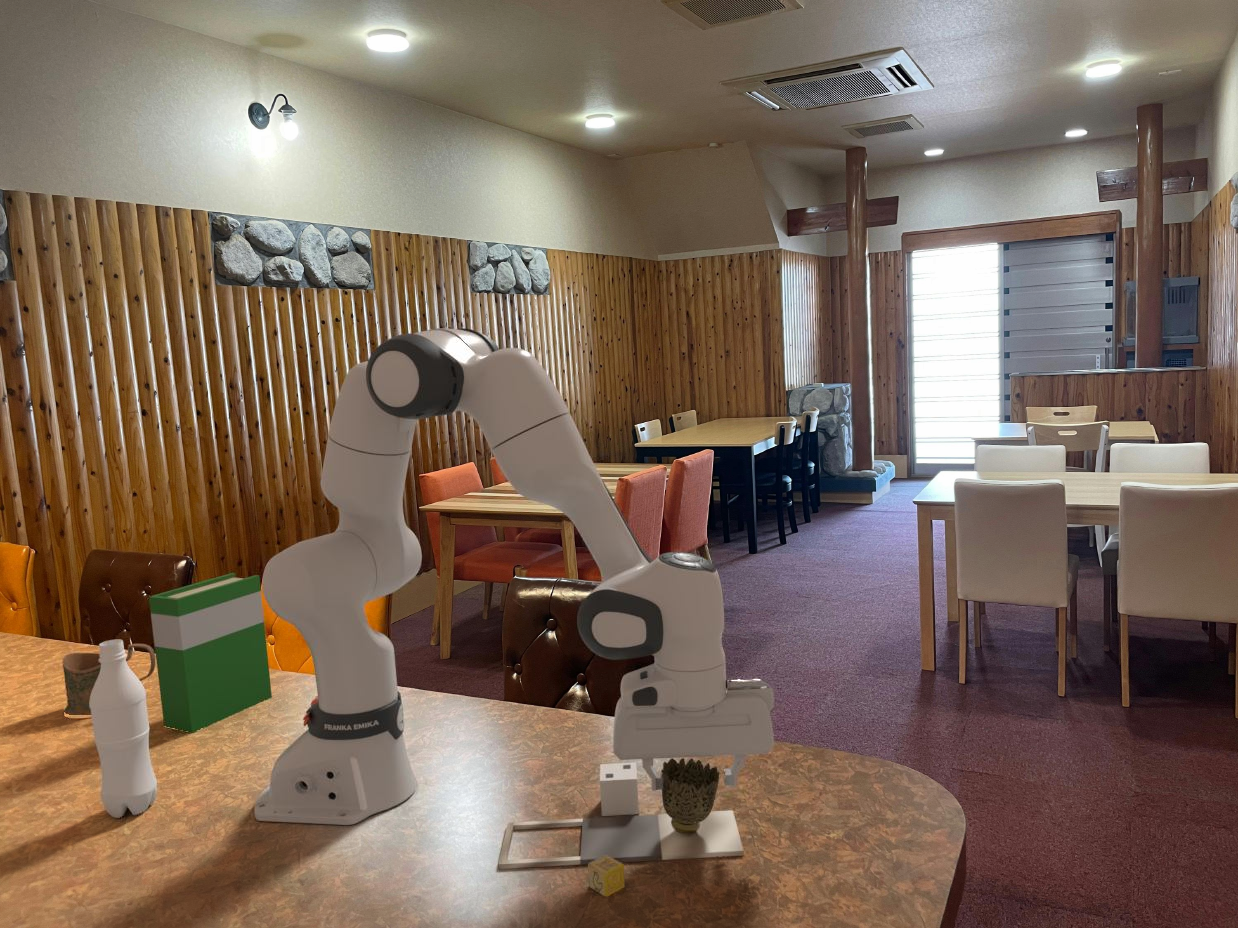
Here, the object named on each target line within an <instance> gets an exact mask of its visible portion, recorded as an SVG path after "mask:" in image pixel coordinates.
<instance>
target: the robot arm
mask: <svg viewBox="0 0 1238 928" xmlns="http://www.w3.org/2000/svg"><path fill="white" fill-rule="evenodd" d="M456 412H462V413H465V414H467V415H469V416H470V417H471V418H473V420H475V422H476V424H478V426H479V428H480V430H481V431H482V433H483V435H484V436H483V437H484V438H485V440H486V443H487V444H488V447H489V449H490V451H491V453H492V455H493V458H494V459H495V461H496V464H497V465H498V467H499V469H500V471H501V472H502V474H503V475H504V477H505V478H506V480H507V481H508V483H509V484H510V485H511V487H512V488H513V489H514V490H515V492H516V493H517V494H519V496H521V497H523V498H525V499H527V500H530V501H533V502H537V503H540V504H543V505H547V506H550V507H552V508H555V509H557V510H558V511H559V512H561V513H562V514H564V515H565V516H566V517H568V518H569V520H570V521H571V522H572V523H573V525H574V526H575V527H576V530H577V531H578V533H579V535H580V537H581V538H582V541H583V542H584V543H585V546H586V547H587V549H588V551H589V552H590V554H591V556H592V558H593V560H594V561H595V563H596V565H597V567H598V569H599V572H600V576H601V583H600V584H598V585H597V586H596V587H595V588H594V589H593V590H591V592H590V593H589V594H588V595H587V596H586V597H585V598H584V599H583V601H581V604H580V605H579V608H578V612H577V617H576V618H577V619H576V621H577V622H576V624H577V629H578V633H579V636H580V638H581V640H582V641H583V643H584V644H585V646H586V647H587V648H588V649H589V650H590V651H591V652H592V653H594V654H595V655H596V656H599V657H600V658H604V659H607V660H613V661H614V660H627V659H629V660H630V659H637V658H638V659H639V658H643V657H647V656H653V657H654V663H652V664H650V665H647V666H643V667H641V668H639V669H636V670H633V671H630V672H627V673H625V674H624V675H623V676H622V679H621V681H620V695H621V696H620V697H619V699H618V701H617V703H616V707H615V711H614V719H613V733H612V736H613V737H612V740H613V741H612V742H613V743H612V747H613V751H612V752H613V754H614V755H615V757H616V758H617V759H619V760H620V761H629V760H631V761H632V760H641V764H642V765H641V766H642V768H643V769H644V770H645V772H646V774H647V775H648V777H649V778H650V779H651V781H650V782H651V791H662V790H663V777H662V775H663V773H662V772H661V771H656V769H655V768H654V759H669V758H670V759H672V758H673V759H674V758H676V759H677V758H695V757H696V758H697V757H718V756H721V757H723V756H732V757H733V762H732V764H731V766H730V767H729V768H723V776H724V777H723V780H724V786H725V788H736V787H738V775H739V774H740V772H741V771H742V768H743V767H744V765H745V763H746V755H760V754H761V755H765V754H766V755H767V754H769V753H770V752H771V750H772V749H773V747H774V746H775V741H774V740H775V739H774V738H775V737H774V730H773V724H772V717H771V713H770V712H771V711H772V710H773V709H774V705H775V695H774V694H775V693H774V689H773V687H772V686H771V685H770V684H769V683H767V682H765V681H762V679H761V678H760V679H759V678H750V679H727V674H726V673H727V671H726V654H725V650H724V648H723V644H722V638H723V632H724V628H725V613H724V611H725V610H724V608H725V607H724V598H723V597H724V596H723V589H722V583H721V579H720V576H719V572H718V569H717V568H716V566H715V565H714V564H713V563H712V562H711V561H710V560H708V559H707V558H704V556H700V555H697V554H694V553H689V552H682V551H681V552H680V551H676V552H674V551H673V552H665V553H662V554H659V555H658V556H657V557H656V558H655V559H653V558H651V557H650V556H649V555H648V554H647V552H646V551H645V550H644V549H643V548H642V546H641V545H640V544H639V541H638V540H637V539H636V536H635V535H634V533H633V531H632V530H631V528H630V525H629V524H628V521H626V518H625V517H624V515H623V512H622V511H621V510H620V508H619V506H618V505H617V503H616V501H615V499H614V497H613V495H612V494H611V492H610V490H609V489H608V487H607V485H606V484H605V482H604V480H603V478H602V477H601V475H600V473H599V471H598V469H597V467H596V465H595V463H594V461H593V459H592V457H591V456H590V453H589V450H588V449H587V447H586V445H585V442H584V440H583V438H582V435H581V434H580V431H579V429H578V427H577V426H576V423H575V420H574V419H573V417H572V415H571V413H570V411H569V409H568V407H567V405H566V403H565V401H564V399H563V397H562V396H561V394H560V392H559V390H558V388H557V387H556V385H555V384H554V382H553V380H552V378H550V376H549V374H548V373H547V372H546V371H545V369H544V367H543V366H542V365H541V363H540V362H539V361H538V360H537V359H536V357H535V356H534V355H533V354H532V353H531V352H529V351H528V350H526V349H524V348H518V347H506V348H501V349H500V348H499V346H498V345H497V344H496V342H495V341H494V340H493V339H491V338H490V337H489V336H487V335H486V334H484V333H482V332H480V331H477V330H474V329H470V328H466V327H465V328H463V327H462V328H449V327H448V328H441V327H440V328H438V327H436V328H431V329H426V330H424V331H419V332H418V331H417V332H414V333H411V332H410V333H401V334H398V335H396V336H393V337H391V338H389V339H387V340H385V341H383V342H381V343H380V344H379V345H378V346H377V347H376V348H375V349H374V350H373V351H372V353H371V355H370V357H369V358H368V360H366V361H363V362H360V363H357V364H355V365H354V366H352V367H351V368H350V369H349V371H348V372H347V374H346V376H345V378H344V380H343V383H342V384H341V388H340V389H339V393H338V396H337V399H336V402H335V406H334V409H333V413H332V416H331V421H330V425H329V431H328V436H327V442H326V448H325V453H324V460H323V465H322V471H321V478H320V488H321V491H322V493H323V495H324V496H325V498H326V499H327V500H328V501H329V502H330V503H331V504H332V505H334V507H336V508H338V512H339V522H338V525H337V528H336V529H335V531H334V532H331V533H328V534H323V535H321V536H316V537H313V538H312V537H311V538H309V539H306V540H302V541H299V542H297V543H295V544H293V545H291V546H289V547H287V548H285V549H283V550H282V551H281V552H279V553H277V554H275V555H274V556H273V557H271V558H270V559H269V560H268V562H267V563H266V565H265V567H264V570H263V574H262V584H261V585H262V592H263V597H264V600H265V601H266V603H267V605H268V606H269V608H270V610H271V611H272V612H273V613H274V614H275V615H276V616H277V617H279V618H280V619H282V620H283V621H284V622H287V623H289V624H291V625H292V626H294V627H295V628H296V629H297V630H298V631H299V633H300V634H301V636H302V637H303V639H304V640H305V642H306V644H307V647H308V649H309V651H310V655H311V658H312V662H313V669H314V676H315V684H316V691H317V695H316V696H315V698H314V699H312V701H311V703H310V706H309V708H308V709H307V710H306V712H305V713H306V714H304V717H303V719H302V720H303V726H304V727H305V726H307V730H306V731H305V732H303V733H302V734H301V735H300V736H299V737H298V738H297V739H295V740H294V741H293V742H292V743H291V744H290V745H289V746H288V747H287V748H286V749H285V750H283V751H282V753H281V754H280V755H279V756H278V758H277V759H276V761H275V762H274V764H273V767H272V771H271V774H270V780H269V784H268V785H267V786H266V787H265V788H264V789H263V791H262V792H261V793H260V794H259V796H258V798H257V799H256V802H255V803H254V808H253V809H254V811H253V812H254V813H253V814H254V818H255V820H256V821H261V822H275V823H276V822H277V823H278V822H279V823H298V824H317V825H318V824H321V825H322V824H323V825H343V826H350V825H355V824H357V823H359V822H361V821H363V820H364V819H367V818H368V817H369V816H372V815H374V814H377V813H381V812H382V811H386V810H389V809H391V808H393V807H395V806H397V805H400V804H401V803H403V802H405V801H406V800H408V798H409V797H411V795H413V793H414V792H415V791H416V789H417V788H418V787H417V786H418V781H417V779H416V778H417V777H416V776H415V774H414V772H413V769H412V766H411V763H410V759H409V755H408V752H407V748H406V743H405V738H404V734H403V733H404V729H405V715H404V705H403V704H402V703H403V702H402V695H401V692H400V691H398V680H397V670H396V658H395V657H396V656H395V648H394V645H393V642H392V641H391V639H390V638H388V637H387V636H386V635H385V634H384V633H381V632H379V631H377V630H375V629H372V628H371V626H370V623H369V621H368V618H367V616H366V610H365V605H366V604H367V603H369V602H372V601H374V600H377V599H380V598H383V597H386V596H387V595H391V594H393V593H395V592H396V591H397V590H400V588H402V587H404V586H405V585H406V584H407V583H408V582H410V581H411V580H413V579H414V578H415V577H416V576H417V574H418V573H419V571H420V569H421V567H422V560H423V559H422V558H423V555H422V548H421V544H420V541H419V539H418V537H417V535H415V533H414V532H413V531H412V530H411V528H409V527H408V526H407V523H406V520H405V515H404V506H403V505H404V503H403V502H404V501H403V499H404V490H405V484H406V478H407V474H408V473H407V472H408V468H409V461H410V457H411V456H410V455H411V451H412V445H413V441H414V435H415V428H416V425H417V423H418V421H419V420H425V419H430V418H435V417H441V416H447V415H452V414H453V413H456Z"/></svg>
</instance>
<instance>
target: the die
mask: <svg viewBox="0 0 1238 928" xmlns="http://www.w3.org/2000/svg"><path fill="white" fill-rule="evenodd" d="M599 789H600V803H601V804H600V805H601V816H602V817H615V816H633V815H639V814H640V809H639V792H638V791H639V789H638V771H637V762H636V761H635V762H621V763H619V762H618V763H602V764H601V763H600V767H599Z"/></svg>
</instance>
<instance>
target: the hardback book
mask: <svg viewBox="0 0 1238 928" xmlns="http://www.w3.org/2000/svg"><path fill="white" fill-rule="evenodd" d="M262 597H263V596H262V590H261V578H260V575H257V574H255V575H251V576H248V577H245V578H242V577H241V578H240V577H237V576H236V573H235V572H234V573H233V572H231V573H227V574H224V575H221V576H218V577H217V576H216V577H214V578H210V579H207V580H206V579H205V580H202V581H199V582H195V583H192V584H189V585H185V586H182V587H181V586H180V587H179V588H175V589H171V590H168V591H164V592H160V593H157V594H153V595H151V596H148V602H149V610H150V618H151V619H150V620H151V625H152V628H151V629H152V636H153V643H154V644H153V645H154V654H155V662H156V668H157V677H158V686H159V692H160V693H159V695H160V703H161V704H160V705H161V710H162V712H161V713H162V720H163V726H166V727H170V728H175V729H178V730H177V731H179V730H183V731H182V732H184V731H188V732H191V733H190V734H194V733H196V732H198V731H197V730H199V731H201V730H202V729H201V728H203V729H205V728H208V727H209V725H210V726H211V725H214V724H216V723H218V721H219V722H220V721H223V720H225V719H227V718H230V717H232V716H235V715H236V714H238V713H241V712H243V711H245V710H247V709H250V708H251V707H254V706H256V705H258V703H259V704H260V702H261V703H263V702H265V701H267V700H269V698H270V699H272V698H273V696H272V686H271V684H272V683H271V676H270V675H271V674H270V666H269V657H268V645H267V639H266V628H265V618H264V608H263V607H264V606H263V599H262ZM271 697H272V698H271ZM264 700H265V701H264ZM249 707H250V708H249ZM244 709H245V710H244ZM229 716H230V717H229ZM213 723H214V724H213ZM204 727H205V728H204ZM200 729H201V730H200ZM195 731H196V732H195ZM188 732H187V733H188ZM193 732H194V733H193Z"/></svg>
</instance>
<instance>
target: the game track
mask: <svg viewBox="0 0 1238 928" xmlns="http://www.w3.org/2000/svg"><path fill="white" fill-rule="evenodd" d="M671 820H672V818H671V817H670V816H669V815H668V814H667V813H663V814H662V813H660V814H642V815H641V814H640V815H639V814H638V815H620V816H602V817H589V818H588V817H587V818H585V817H584V818H569V819H566V818H565V819H554V820H553V819H552V820H551V819H550V820H549V819H548V820H534V821H516V822H515V821H514V822H507V825H506V828H505V829H506V830H505V835H504V838H503V842H502V843H503V844H502V847H501V850H500V856H499V859H498V870H502V869H503V870H504V869H505V870H506V869H521V868H522V869H523V868H525V869H526V868H538V867H539V868H540V867H542V868H543V867H557V866H574V865H588V863H590V862H592V861H594V860H596V859H598V858H600V857H602V856H604V855H608V856H610V857H612V858H613V859H615V860H617V861H618V862H620V863H630V862H631V863H632V862H647V861H650V862H651V861H665V860H667V861H670V860H683V859H701V858H702V859H703V858H722V857H723V856H724V857H737V856H739V857H741V856H744V851H745V850H744V847H743V844H742V839H741V836H740V834H739V833H740V832H739V829H738V825H737V821H736V817H735V812H734V810H732V809H731V810H729V809H728V810H714V811H712V810H711V812H710V814H709V815H708V817H707V818H706V819H705V820H703V821H702V822H700V827H699V829H698V831H697V832H696V833H694V834H689V835H686V834H681V833H678V832H676V831H675V830H674V829H673V828H672V825H671ZM571 827H582V828H581V842H580V856H579V855H578V856H562V857H560V856H559V857H542V858H540V857H539V858H526V859H525V858H524V859H522V858H521V859H509V858H508V857H509V853H510V848H511V844H512V839H513V833H514V830H516V831H517V830H531V829H534V830H536V829H549V828H550V829H552V828H553V829H554V828H571ZM717 856H718V857H717ZM724 857H723V858H724Z"/></svg>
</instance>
